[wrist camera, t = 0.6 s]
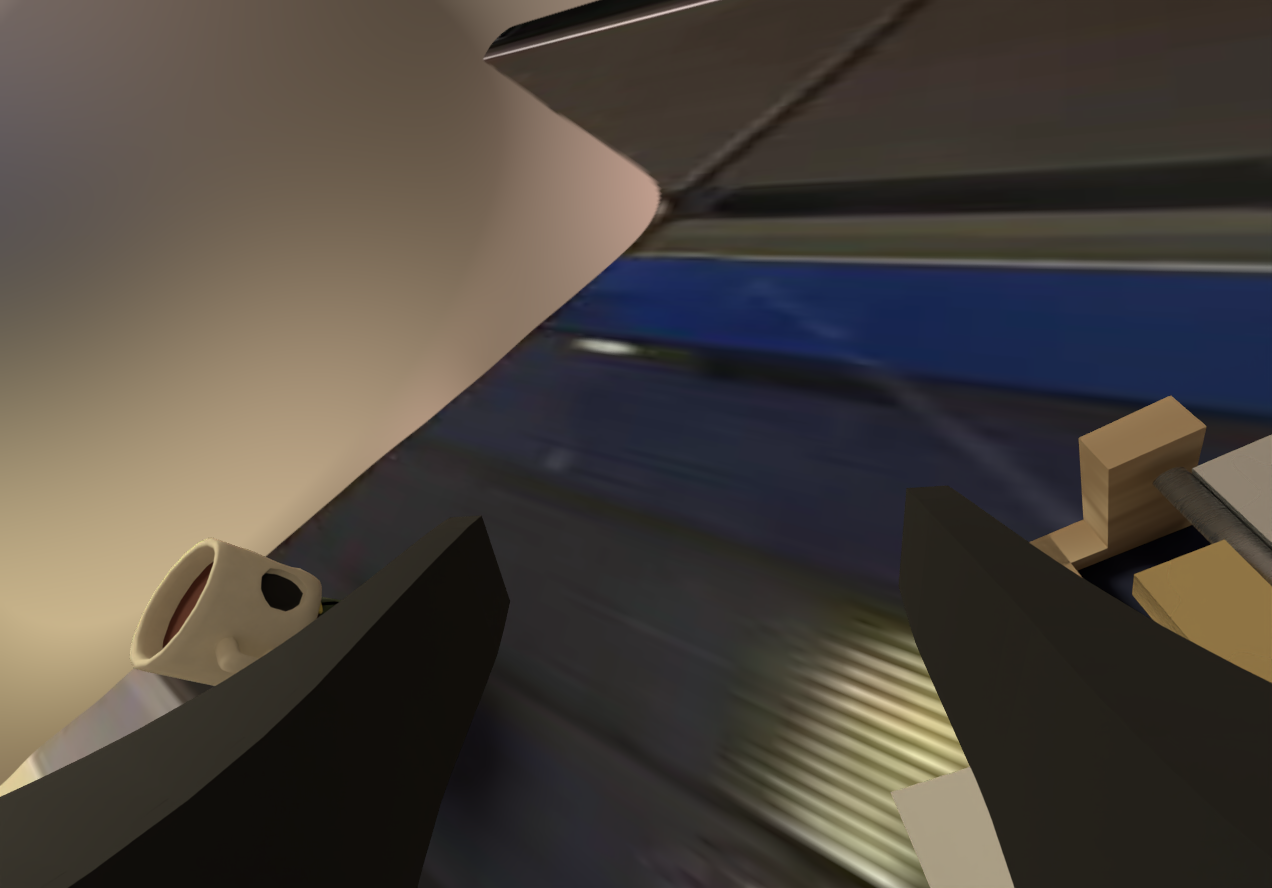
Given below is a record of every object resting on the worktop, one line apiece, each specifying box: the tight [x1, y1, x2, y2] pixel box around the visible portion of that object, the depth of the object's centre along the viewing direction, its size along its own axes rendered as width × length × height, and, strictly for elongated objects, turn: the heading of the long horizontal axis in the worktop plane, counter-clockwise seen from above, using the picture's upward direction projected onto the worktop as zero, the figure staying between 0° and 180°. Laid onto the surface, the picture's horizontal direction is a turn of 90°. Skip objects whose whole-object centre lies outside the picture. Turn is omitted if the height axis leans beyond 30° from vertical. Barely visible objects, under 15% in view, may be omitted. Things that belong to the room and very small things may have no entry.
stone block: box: [891, 767, 1014, 888], centre depth 16 cm, size 5×5×5 cm
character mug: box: [129, 538, 342, 686], centre depth 36 cm, size 11×7×13 cm, turn 49°
